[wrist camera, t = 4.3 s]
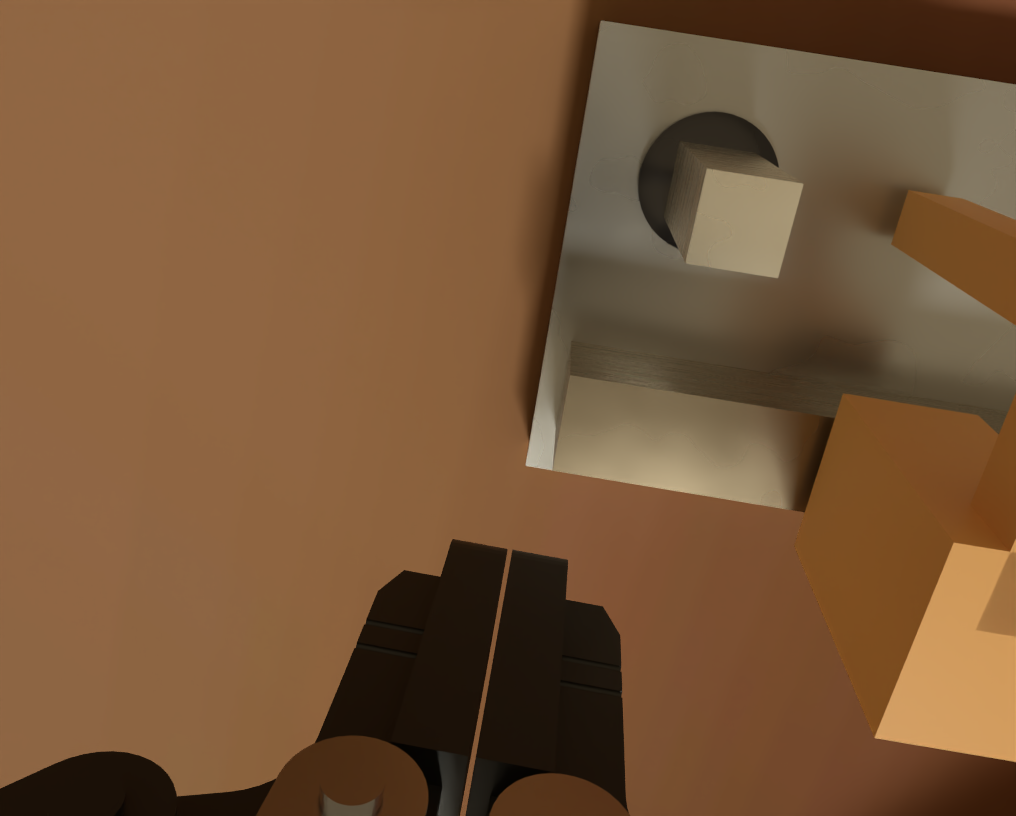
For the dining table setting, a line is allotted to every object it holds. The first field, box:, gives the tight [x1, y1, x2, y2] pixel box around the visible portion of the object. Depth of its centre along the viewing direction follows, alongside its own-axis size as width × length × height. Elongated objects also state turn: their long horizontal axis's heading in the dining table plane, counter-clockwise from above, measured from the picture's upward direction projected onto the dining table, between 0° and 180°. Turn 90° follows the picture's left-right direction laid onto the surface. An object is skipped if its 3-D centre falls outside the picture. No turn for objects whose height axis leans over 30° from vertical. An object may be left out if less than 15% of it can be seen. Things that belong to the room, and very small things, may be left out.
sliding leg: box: [794, 190, 1016, 762], centre depth 14 cm, size 2×7×7 cm, turn 172°
